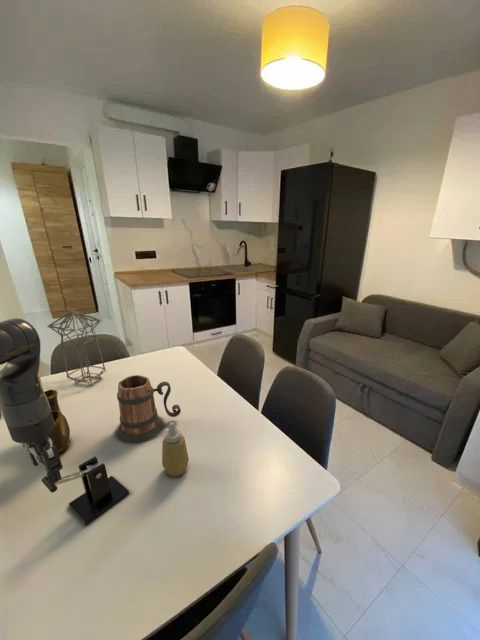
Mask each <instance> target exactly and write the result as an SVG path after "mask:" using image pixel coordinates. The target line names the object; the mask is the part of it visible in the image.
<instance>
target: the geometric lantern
mask: <svg viewBox="0 0 480 640" xmlns="http://www.w3.org/2000/svg"><path fill="white" fill-rule="evenodd" d="M62 319H63V320H62ZM61 320H62V321H61ZM59 321H61V322H59ZM78 321H79V322H80V324H81V326H82V327H79V324H78V323H79V322H78ZM94 321H95V322H94ZM101 321H102V319H100V318H97V317H94V316H92V315H89V314H86V313H83V312H80V311H77V310H70V311H69V312H67V313H66V314H64V315H62V316H61V317H59V318H58V319H56V320H55V321H53V322H51V323H49V324H48V325H47V328H49V329H50V330H52V331H54V332H55V333H57V334H58V335H59V336H60V342H59V343H60V347H61V352H62V357H63V362H64V363H63V364H64V368H65V373H66V378H67V379H69V380H72V381H74V384H75V385H78V386H79V385H80V386H84V387H85V386H86V387H90V386H92V385H94V384H96V383H97V382H99V381H101V380H102V377H101V376H102V375H103V374H104V373H106V372H107V369H106V366H105V363H104V359H103V354H102V351H101V348H100V343H99V340H98V336H97V335H98V334H97V333H96V331H95V328H96V327H97V326H98V325H99V324H100V323H101ZM57 322H58V323H57ZM75 322H76V326H77V331H78V332H80V334H79V333H78V332H77V331H76V326H75ZM90 323H91V324H90ZM64 324H65V325H64ZM71 324H72V327H70V326H71ZM58 325H59V326H58ZM63 325H64V327H63ZM88 328H90V330H89V331H88V330H87V329H88ZM56 329H57V330H56ZM66 331H67V333H65V332H66ZM73 332H74V333H75V334H74V335H71V334H72V333H73ZM90 333H92V334H90ZM69 335H71V336H69ZM64 336H66V338H64ZM79 336H81V340H82V341H81V343H80V337H79ZM74 337H76V338H77V343H76V342H75V341H74V340H73V339H72V338H74ZM86 337H93V338H91V339H90V340H87V341H85V339H86ZM66 340H70V342H71V343H67V342H64V341H66ZM94 340H95V344H96V347H97V350H98V354H99V357H100V360H101V363H102V367H101V366H96V365H90V360H89V356H88V352H87V348H86V344H88V343H90V342H92V341H94ZM65 345H71V346H75V349H76V352H77V358H78V362H79V366H80V367H79V368H77V369H75V370H73V371H72V372H70V373H69V371H68V363H67V358H66V352H65V351H66V349H65ZM84 362H85V365H84ZM90 367H91V368H95V369H96V368H97V369H102V370H101V371H100V372H99V373H96V372H90V369H89V368H90ZM85 368H86V370H87V371H85ZM78 371H80V372H81V375H80V376H78V377H71V376H70V375H72V374H74V373H76V372H78ZM93 375H94V376H93ZM81 377H82V378H81ZM79 378H81V379H79ZM85 378H88V379H85ZM96 379H97V380H96ZM95 380H96V381H95ZM93 381H94V382H93ZM79 382H80V383H79ZM92 382H93V383H92ZM82 383H86V384H82Z"/></svg>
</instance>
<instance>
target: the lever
mask: <svg viewBox="0 0 480 640" xmlns="http://www.w3.org/2000/svg"><path fill="white" fill-rule="evenodd" d="M99 465H100V464H99V462H98V463H95V464H91V465H88V466H86V470H84V471H77V472H74V473H71V474H68V475H64V476H61V480H59V481H58V482H56V483H54V484H52V485H51V484H50V483H49V481H48V478H47V475H45V476H43V477H42V478H41V483H42V484H43V485H44V486H45V487H46V488H47V490H48V491H49V492H50V493H55V492H57V491H58V485H61V484H65V483H68V482H70V481H73V480H77V479H79V478H81V477H83V476H86V473H87V472H89V471H91V470H92V469H94V468H96V467H97V466H99Z"/></svg>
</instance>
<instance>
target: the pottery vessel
mask: <svg viewBox="0 0 480 640" xmlns="http://www.w3.org/2000/svg"><path fill="white" fill-rule="evenodd" d="M44 393H45V395H46V397H47V399H48V402H49V405H50V409H51V412H52V416H53V419H54V423H55V428H54V430H53V431H52V432H51V433H50V434H49V435H48V437H50V439H51V440H52V445H53V446H55V447H57V451H58V454H59V456H60V455H63V454H64V453H66V452H67V450H69V448H70V447H71V439H70V437H71V433H70V432H71V429H70V425H69V422H68V420H67V417H66V416H65V415H64V414H63V412H62V411H61V408H60V406H59V405H60V404H59V401H58V394H59V392H58V390H56V389H48V390H44ZM48 437H47V438H48Z"/></svg>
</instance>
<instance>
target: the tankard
mask: <svg viewBox="0 0 480 640" xmlns="http://www.w3.org/2000/svg"><path fill="white" fill-rule="evenodd" d="M117 386H118V387H117V393H116V399H117V401H118V409H119V423H120V424H119V426H118V427H117V429H116V430H115V431H116V432H115V435H116V438H117V439H118V440H119V441H121V442H123V443H125V444H139V443H140V444H141V443H145V442H148V441H150V440H153V439H155V438H156V437H158V435H160V434H161V433H162V431H163V430H164V428H165V421H164V420H163V419H162V418H161V417H160V416H158V409H157V408H156V402H155V397H154V393H155V392H157V393H158V394H159V395H160V396H163V395H164V396H163V406H164V410H165V413H166V414H167V416H168V417H171V418H177V417H178V416H179V415H180V414H181V411H182V409H181V406H180V405H179V404H173V406H172V407H171V410H172V411H170V410H169V409H168V405H167V400H168V398H169V396H170V394H171V391H172V388H171V384H170V383H169V381H161V382H159V383H158V385H157V386H156V388H154V387H153V386H152V384H151V381H150V379H149V378H148V377H147V376H144V375H139V374H134V375H130V376H127V377H125V378H123V379H121V380H120V381H119V382H118V384H117ZM163 387H167V389H166V392H165V393H164V392H163Z"/></svg>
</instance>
